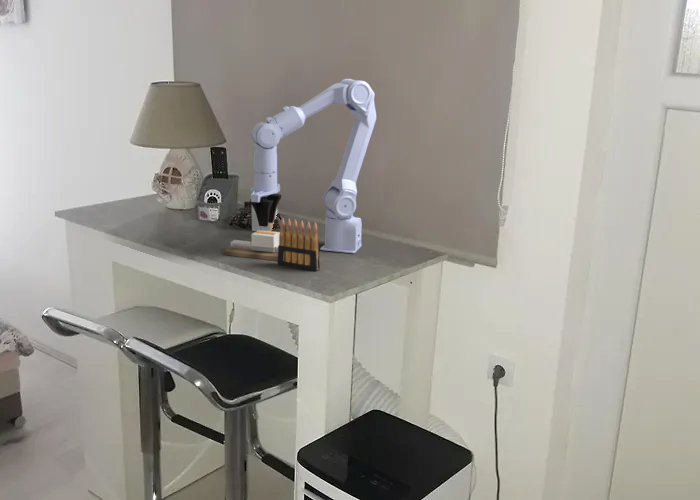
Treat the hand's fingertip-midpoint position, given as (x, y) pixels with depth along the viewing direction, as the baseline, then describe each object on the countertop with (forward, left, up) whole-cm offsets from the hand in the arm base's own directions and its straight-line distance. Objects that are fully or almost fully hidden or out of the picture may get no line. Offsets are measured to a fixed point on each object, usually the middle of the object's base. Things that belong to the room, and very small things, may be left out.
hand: (266, 224), depth 177 cm
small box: (+10, -24, -8) cm, 27 cm away
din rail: (0, 0, -8) cm, 8 cm away
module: (0, 0, -7) cm, 7 cm away
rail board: (0, 0, -8) cm, 8 cm away
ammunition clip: (-12, +8, -8) cm, 16 cm away
